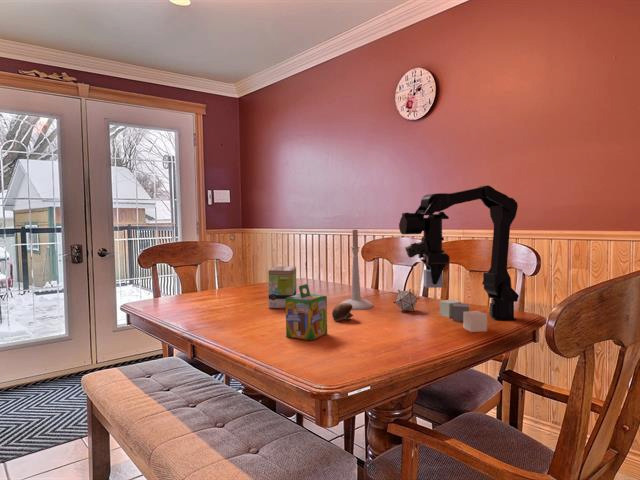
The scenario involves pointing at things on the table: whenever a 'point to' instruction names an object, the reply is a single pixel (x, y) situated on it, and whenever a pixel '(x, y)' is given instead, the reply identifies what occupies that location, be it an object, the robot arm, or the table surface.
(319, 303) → the chalk box
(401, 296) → the game die
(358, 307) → the candlestick
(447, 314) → the sage cube
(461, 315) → the charcoal cube
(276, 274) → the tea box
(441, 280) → the slate blue cube
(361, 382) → the table surface
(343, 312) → the mushroom
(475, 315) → the cream cube
